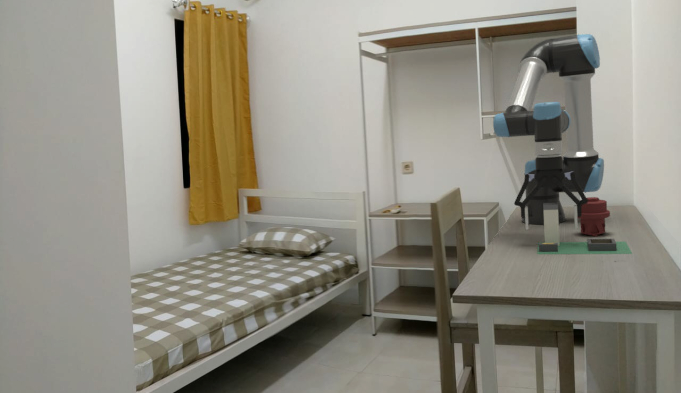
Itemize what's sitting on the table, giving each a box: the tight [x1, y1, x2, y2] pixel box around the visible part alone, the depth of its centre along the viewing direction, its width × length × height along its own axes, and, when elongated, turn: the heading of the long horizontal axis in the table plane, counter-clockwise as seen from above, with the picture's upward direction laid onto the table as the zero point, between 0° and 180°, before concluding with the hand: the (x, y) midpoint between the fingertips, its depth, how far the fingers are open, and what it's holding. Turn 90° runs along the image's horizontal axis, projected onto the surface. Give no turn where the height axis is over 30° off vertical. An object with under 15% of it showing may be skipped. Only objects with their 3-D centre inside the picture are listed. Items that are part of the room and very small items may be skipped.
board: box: [536, 238, 633, 255], centre depth 174 cm, size 16×24×3 cm, turn 71°
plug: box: [543, 203, 560, 246], centre depth 181 cm, size 4×4×12 cm
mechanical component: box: [577, 196, 611, 237], centre depth 191 cm, size 12×10×10 cm
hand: (551, 228), depth 181 cm, fingers open, 13 cm apart
